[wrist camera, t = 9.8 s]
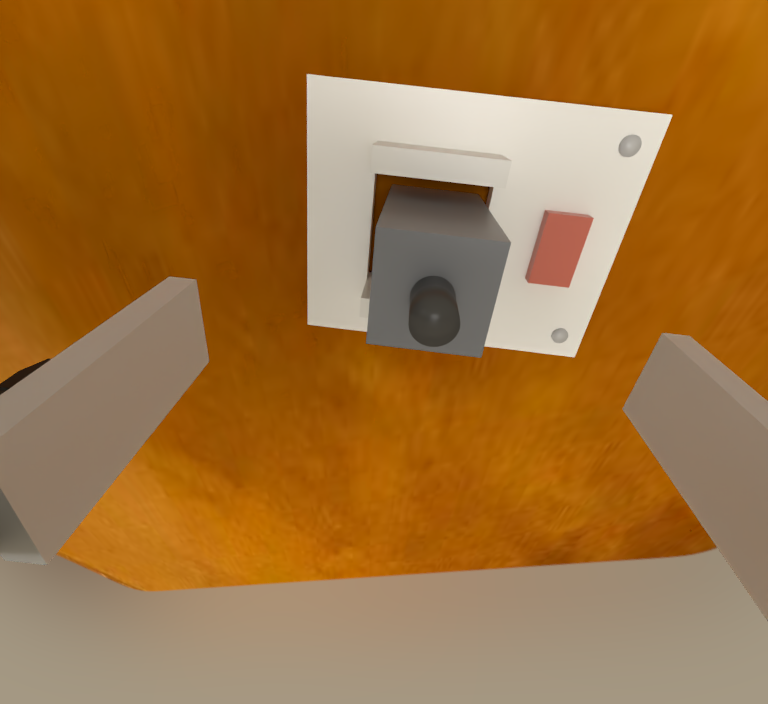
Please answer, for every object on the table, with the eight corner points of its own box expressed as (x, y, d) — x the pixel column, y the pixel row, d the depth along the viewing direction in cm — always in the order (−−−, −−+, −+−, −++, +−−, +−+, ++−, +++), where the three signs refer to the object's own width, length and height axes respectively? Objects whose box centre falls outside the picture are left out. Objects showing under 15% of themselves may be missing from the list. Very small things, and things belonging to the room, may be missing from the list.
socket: (311, 316, 28) (295, 346, 25) (312, 75, 21) (290, 68, 17) (569, 348, 28) (590, 383, 24) (660, 114, 21) (710, 115, 17)
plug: (384, 266, 26) (358, 374, 15) (392, 184, 23) (368, 245, 13) (461, 276, 26) (489, 390, 15) (478, 194, 23) (525, 264, 13)
